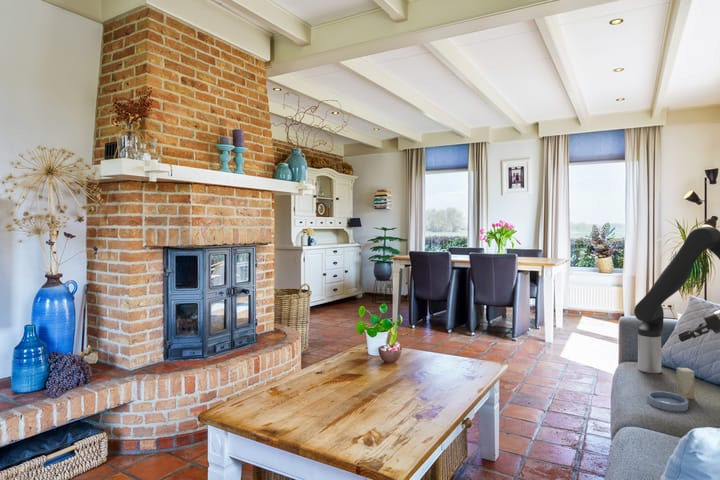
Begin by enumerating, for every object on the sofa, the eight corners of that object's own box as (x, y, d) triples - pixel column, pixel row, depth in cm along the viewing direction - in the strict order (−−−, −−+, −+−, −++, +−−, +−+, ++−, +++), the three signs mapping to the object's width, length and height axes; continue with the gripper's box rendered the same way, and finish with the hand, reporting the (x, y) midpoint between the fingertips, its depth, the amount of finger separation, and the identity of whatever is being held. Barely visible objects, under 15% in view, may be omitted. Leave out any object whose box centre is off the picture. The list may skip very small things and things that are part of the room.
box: (695, 399, 173) (695, 372, 173) (682, 398, 174) (682, 371, 174) (687, 393, 179) (687, 367, 178) (676, 393, 180) (676, 367, 179)
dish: (641, 396, 177) (641, 390, 177) (675, 397, 176) (675, 391, 176) (658, 410, 165) (658, 404, 164) (695, 411, 163) (695, 405, 163)
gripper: (713, 310, 180) (673, 328, 188) (716, 313, 169) (673, 332, 176) (726, 327, 177) (685, 344, 185) (730, 330, 166) (686, 349, 173)
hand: (679, 338), depth 180 cm, fingers open, 8 cm apart
